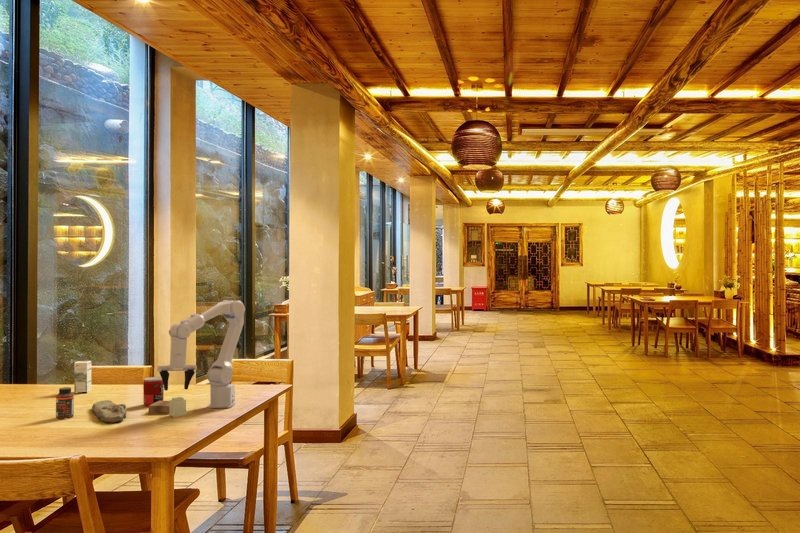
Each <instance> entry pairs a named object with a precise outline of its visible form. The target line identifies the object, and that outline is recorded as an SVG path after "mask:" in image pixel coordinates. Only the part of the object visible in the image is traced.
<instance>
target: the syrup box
mask: <svg viewBox="0 0 800 533" xmlns="http://www.w3.org/2000/svg"><path fill="white" fill-rule="evenodd" d="M73 364H74V367H73V368H74V371H73V373H74V379H73V380H74V387H73V388H74V389H73V390H74V391H73V392H88V391H90V390H91V391H92V360H77V361H75V362H73ZM91 391H90V392H91ZM88 393H89V392H88Z"/></svg>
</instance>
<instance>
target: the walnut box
mask: <svg viewBox="0 0 800 533" xmlns="http://www.w3.org/2000/svg"><path fill="white" fill-rule="evenodd" d="M148 414H149V415H152V414H153V415H162V414H163V415H169V400H163V401H158V402H155V403H153V404H151V405H149V406H148Z"/></svg>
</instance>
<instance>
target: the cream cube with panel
mask: <svg viewBox="0 0 800 533" xmlns="http://www.w3.org/2000/svg"><path fill="white" fill-rule="evenodd" d="M168 401H169V414H168V415H169V416H170V417H173V418H179V417H185V416H186V415H187V399H185V398H184V397H182V396H175V397H171V399H169V400H168ZM178 416H179V417H178Z"/></svg>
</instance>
